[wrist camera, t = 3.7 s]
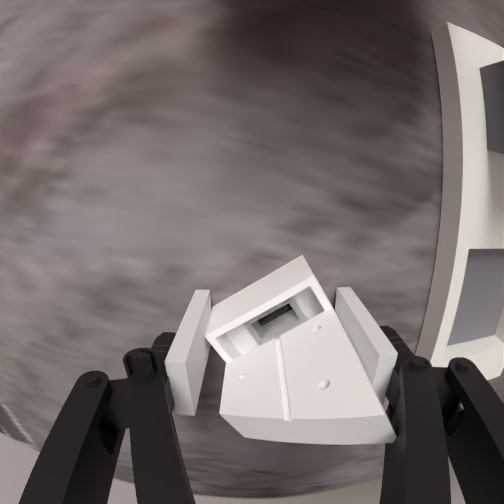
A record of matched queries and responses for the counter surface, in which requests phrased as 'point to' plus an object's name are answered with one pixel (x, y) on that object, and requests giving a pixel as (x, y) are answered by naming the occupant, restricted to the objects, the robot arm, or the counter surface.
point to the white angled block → (293, 366)
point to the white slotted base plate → (469, 206)
